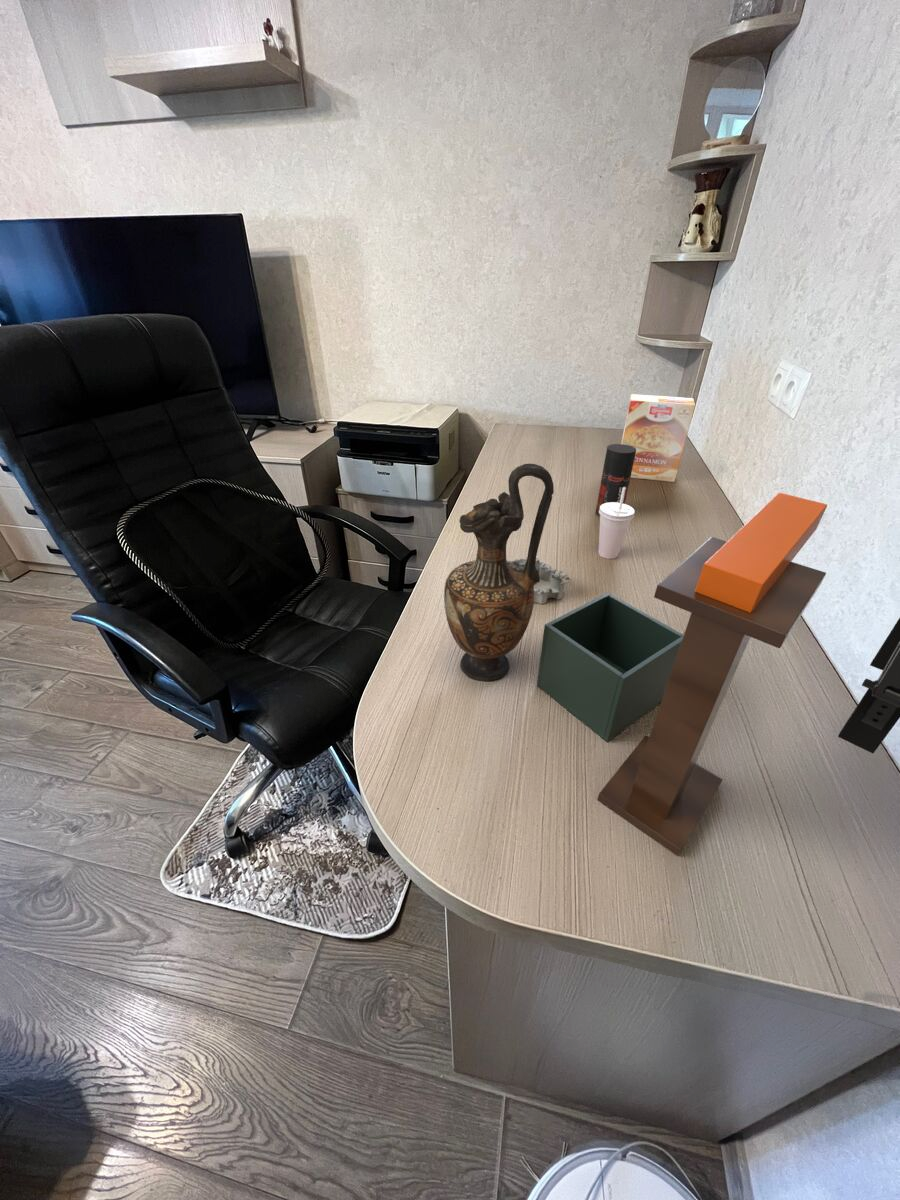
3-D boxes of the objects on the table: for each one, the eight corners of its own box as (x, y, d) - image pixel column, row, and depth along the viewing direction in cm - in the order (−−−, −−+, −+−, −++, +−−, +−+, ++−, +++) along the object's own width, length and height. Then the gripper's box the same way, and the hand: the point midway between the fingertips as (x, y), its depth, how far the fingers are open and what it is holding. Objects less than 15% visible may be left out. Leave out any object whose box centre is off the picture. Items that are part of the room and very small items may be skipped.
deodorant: (605, 506, 117) (617, 442, 109) (627, 514, 114) (642, 448, 105) (590, 513, 114) (601, 447, 106) (612, 521, 110) (625, 455, 102)
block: (769, 516, 48) (778, 492, 47) (816, 529, 46) (828, 504, 45) (694, 592, 38) (703, 563, 36) (750, 613, 35) (763, 584, 34)
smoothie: (611, 565, 95) (626, 496, 87) (584, 553, 99) (596, 486, 91) (631, 555, 98) (647, 487, 90) (604, 543, 102) (617, 477, 94)
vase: (451, 636, 78) (452, 443, 60) (532, 645, 76) (556, 449, 59) (438, 690, 68) (434, 479, 51) (530, 701, 66) (557, 487, 49)
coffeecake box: (615, 476, 133) (630, 399, 121) (616, 467, 138) (630, 393, 127) (675, 482, 129) (696, 404, 118) (673, 473, 135) (693, 397, 123)
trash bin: (666, 698, 67) (688, 637, 61) (607, 742, 61) (624, 679, 55) (595, 650, 75) (607, 592, 69) (536, 685, 69) (544, 624, 63)
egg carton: (569, 598, 86) (573, 578, 84) (531, 608, 84) (533, 587, 82) (538, 568, 94) (540, 549, 92) (502, 576, 92) (504, 557, 90)
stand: (643, 741, 61) (711, 536, 45) (719, 786, 56) (826, 572, 40) (597, 800, 54) (657, 584, 38) (678, 856, 49) (786, 635, 33)
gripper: (961, 451, 47) (856, 630, 59) (918, 541, 32) (790, 755, 44) (1077, 471, 42) (938, 660, 54) (1088, 586, 28) (895, 810, 40)
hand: (872, 703), depth 49 cm, fingers open, 13 cm apart
